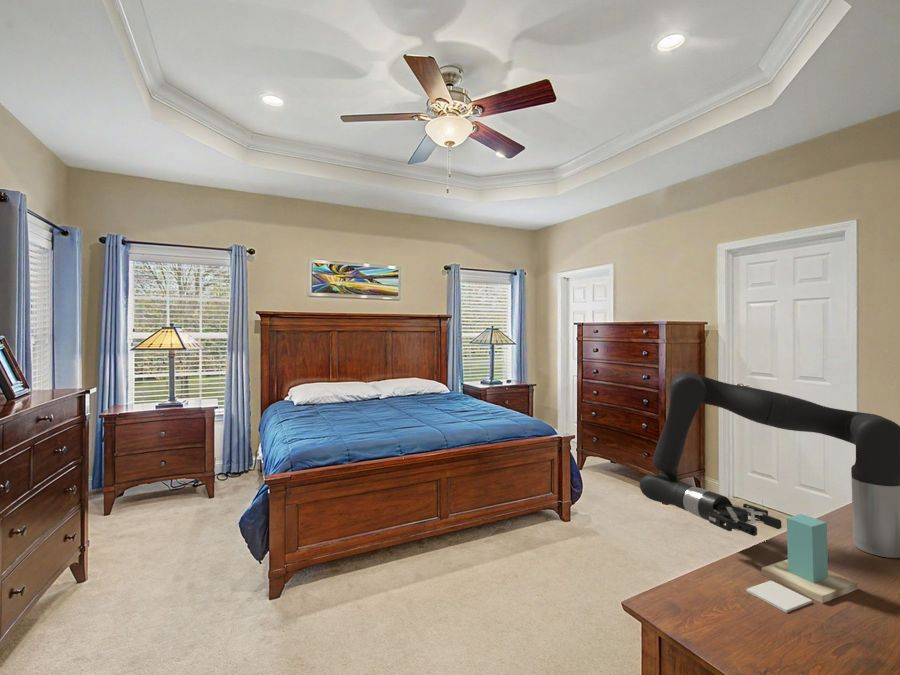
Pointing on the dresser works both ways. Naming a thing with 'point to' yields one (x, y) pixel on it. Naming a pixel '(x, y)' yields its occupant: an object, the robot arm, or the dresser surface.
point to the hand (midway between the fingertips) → (768, 528)
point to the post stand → (817, 591)
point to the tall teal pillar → (807, 548)
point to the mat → (779, 596)
